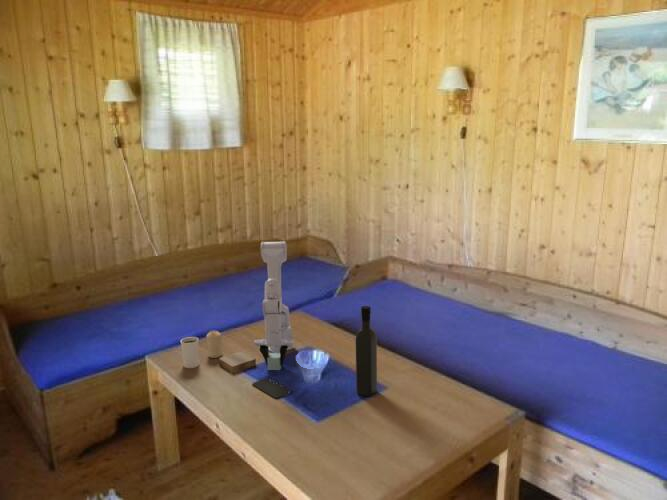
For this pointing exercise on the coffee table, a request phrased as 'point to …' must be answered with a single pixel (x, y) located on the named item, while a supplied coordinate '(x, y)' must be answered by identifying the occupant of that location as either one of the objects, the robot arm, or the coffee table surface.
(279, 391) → the phone
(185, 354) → the beige cup
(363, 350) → the wine bottle
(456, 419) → the coffee table surface
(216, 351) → the candle
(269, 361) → the painted block
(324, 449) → the coffee table surface
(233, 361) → the walnut base
